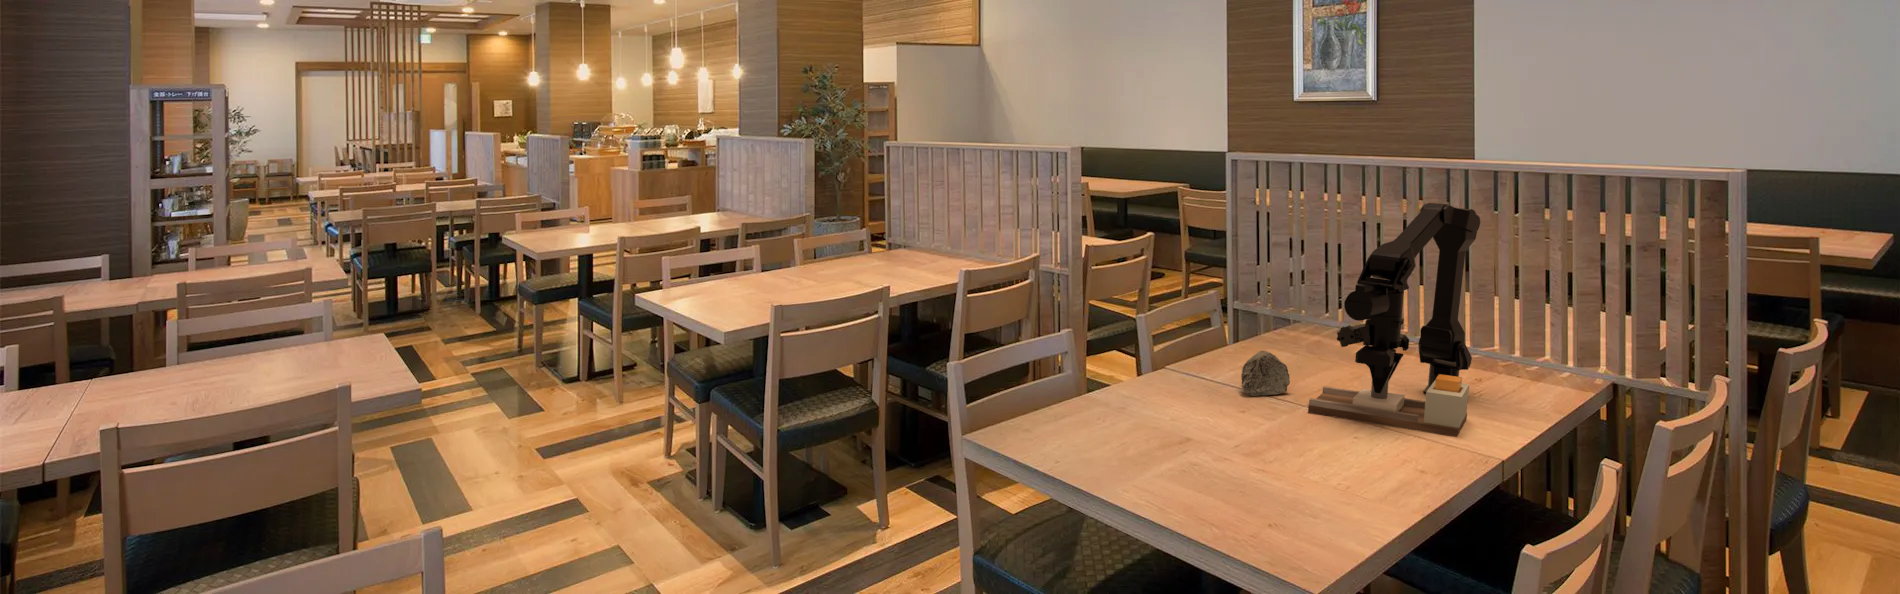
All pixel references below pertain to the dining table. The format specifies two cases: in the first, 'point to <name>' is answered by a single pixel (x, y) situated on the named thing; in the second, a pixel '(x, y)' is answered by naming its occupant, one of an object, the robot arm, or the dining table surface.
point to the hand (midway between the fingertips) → (1379, 390)
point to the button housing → (1446, 406)
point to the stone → (1264, 375)
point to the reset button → (1448, 383)
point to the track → (1377, 412)
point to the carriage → (1379, 399)
